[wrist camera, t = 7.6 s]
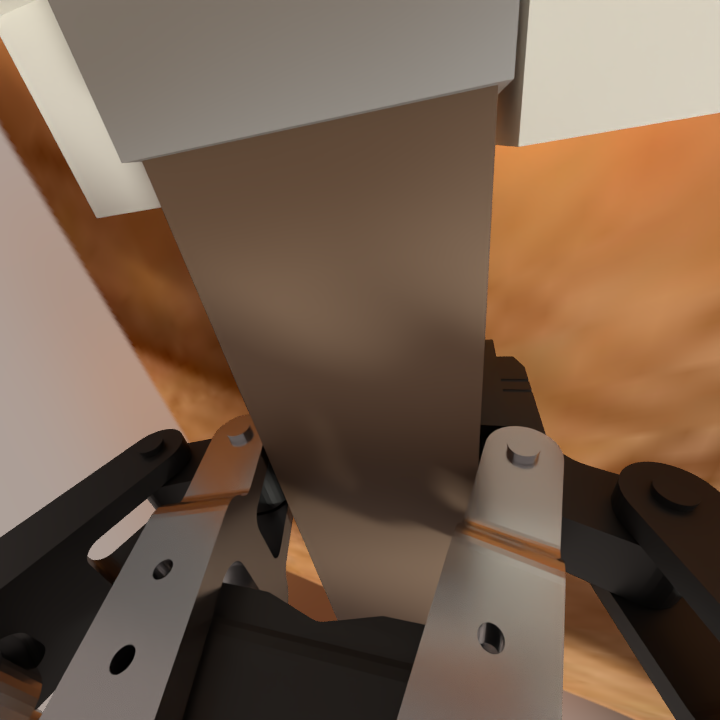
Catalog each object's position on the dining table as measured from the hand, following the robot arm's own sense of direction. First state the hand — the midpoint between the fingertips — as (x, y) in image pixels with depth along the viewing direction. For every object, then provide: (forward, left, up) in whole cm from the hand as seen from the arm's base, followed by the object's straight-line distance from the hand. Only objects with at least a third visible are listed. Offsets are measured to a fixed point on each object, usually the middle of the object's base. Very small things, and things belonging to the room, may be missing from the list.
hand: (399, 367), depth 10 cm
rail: (0, 0, 0) cm, 0 cm away
